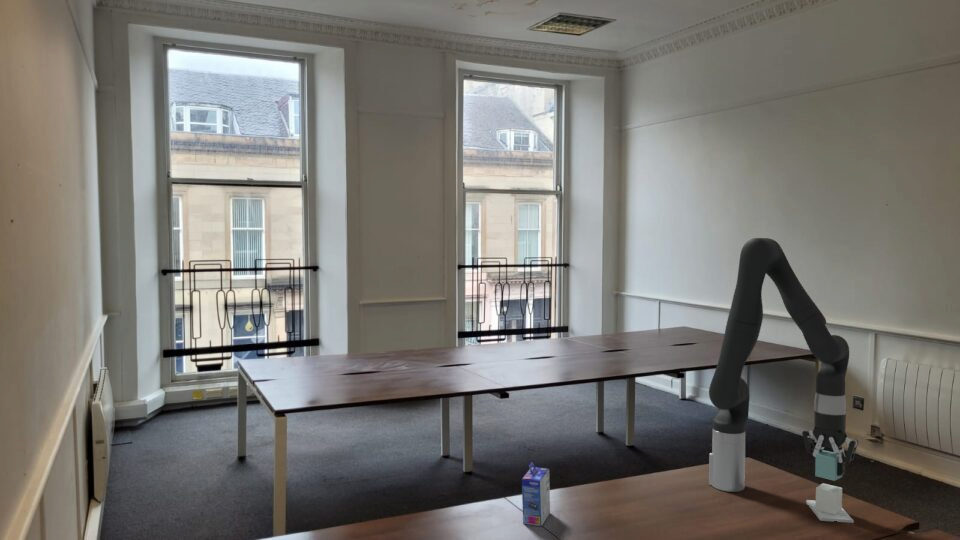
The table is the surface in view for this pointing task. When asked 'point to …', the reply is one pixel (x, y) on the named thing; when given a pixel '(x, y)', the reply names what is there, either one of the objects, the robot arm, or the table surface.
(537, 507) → the ink cartridge box
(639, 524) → the table surface
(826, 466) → the teal block
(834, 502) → the white block
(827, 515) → the external hard drive
